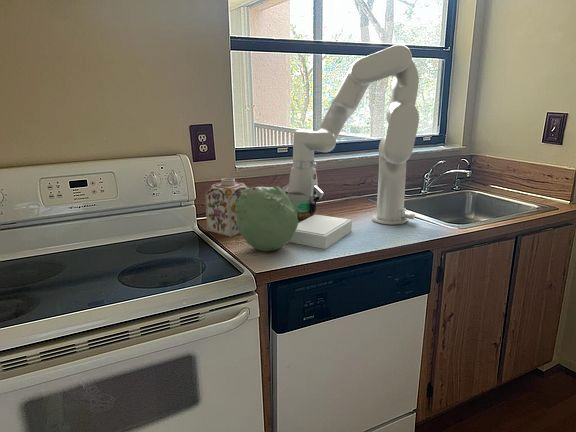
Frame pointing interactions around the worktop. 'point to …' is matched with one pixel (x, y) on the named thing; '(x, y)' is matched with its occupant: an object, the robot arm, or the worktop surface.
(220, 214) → the decorative jar
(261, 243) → the cabbage
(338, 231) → the base
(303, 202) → the food container
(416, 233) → the worktop surface
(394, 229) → the worktop surface
